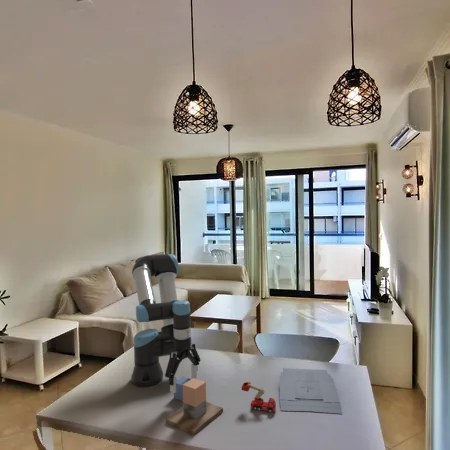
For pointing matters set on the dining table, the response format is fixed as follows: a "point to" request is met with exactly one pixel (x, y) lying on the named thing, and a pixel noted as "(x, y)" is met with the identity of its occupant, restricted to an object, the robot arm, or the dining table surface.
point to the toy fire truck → (260, 399)
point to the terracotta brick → (194, 392)
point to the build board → (194, 423)
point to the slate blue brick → (180, 387)
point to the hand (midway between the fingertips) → (184, 385)
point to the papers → (308, 391)
